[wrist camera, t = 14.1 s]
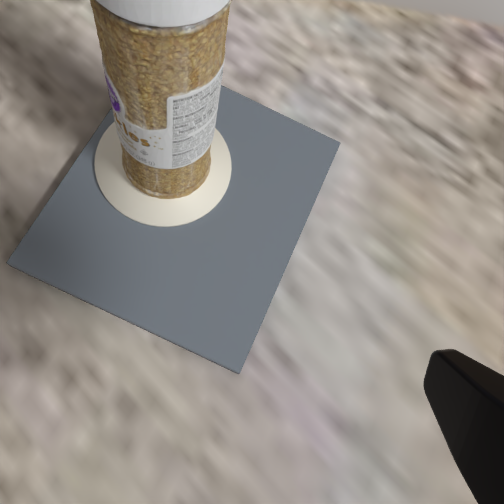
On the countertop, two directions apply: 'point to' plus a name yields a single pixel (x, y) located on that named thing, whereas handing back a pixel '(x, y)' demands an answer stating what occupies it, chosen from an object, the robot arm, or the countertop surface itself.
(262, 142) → the board
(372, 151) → the countertop surface
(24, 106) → the countertop surface
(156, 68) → the sprinkles bottle
